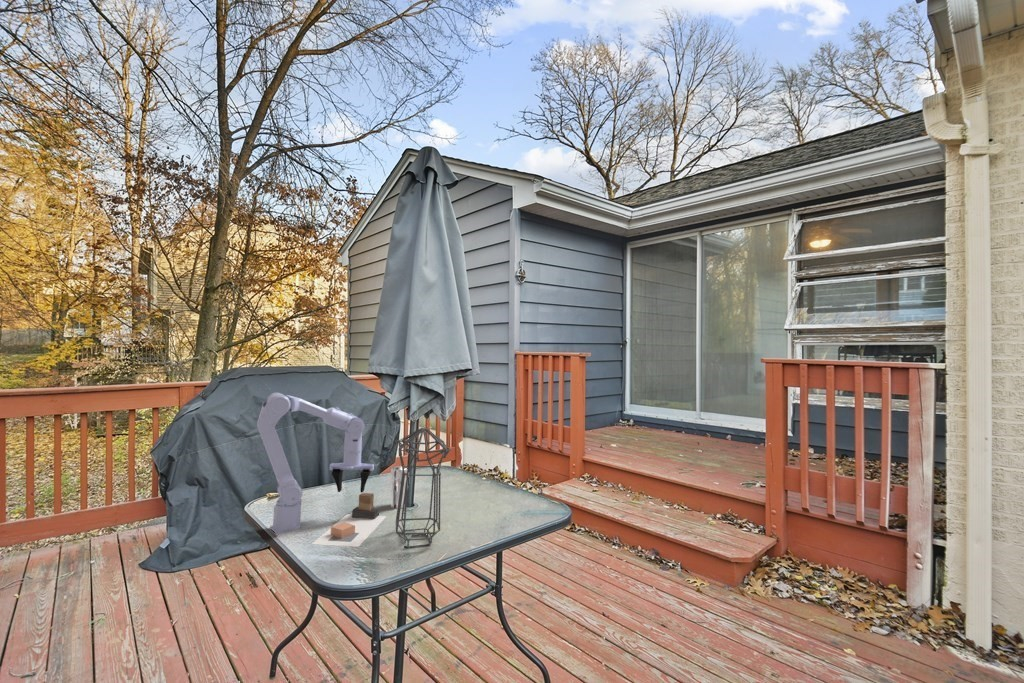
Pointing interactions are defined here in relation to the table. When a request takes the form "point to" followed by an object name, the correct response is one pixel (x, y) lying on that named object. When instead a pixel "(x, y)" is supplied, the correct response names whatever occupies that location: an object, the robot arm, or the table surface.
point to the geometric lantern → (437, 441)
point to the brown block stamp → (365, 507)
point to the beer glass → (396, 485)
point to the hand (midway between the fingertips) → (350, 491)
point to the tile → (342, 530)
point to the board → (361, 533)
